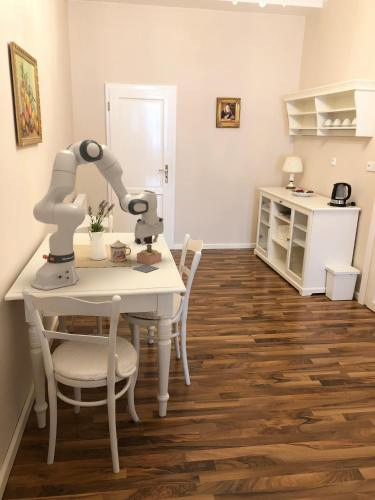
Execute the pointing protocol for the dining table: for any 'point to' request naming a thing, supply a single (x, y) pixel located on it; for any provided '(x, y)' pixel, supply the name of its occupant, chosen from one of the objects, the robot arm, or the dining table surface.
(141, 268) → the mat
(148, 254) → the lid
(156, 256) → the pink hollow square box
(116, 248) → the teacup with lid
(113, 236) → the dining table surface
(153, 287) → the dining table surface
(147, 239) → the brown wooden box
